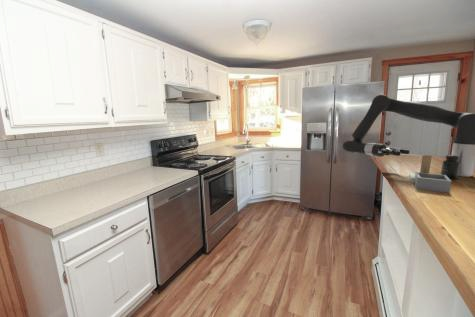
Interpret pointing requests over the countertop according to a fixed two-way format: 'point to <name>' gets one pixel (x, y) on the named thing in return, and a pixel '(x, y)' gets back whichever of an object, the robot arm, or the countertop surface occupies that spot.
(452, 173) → the supplement bottle
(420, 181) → the storage box
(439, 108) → the robot arm
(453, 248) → the countertop surface
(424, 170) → the peg on green base
